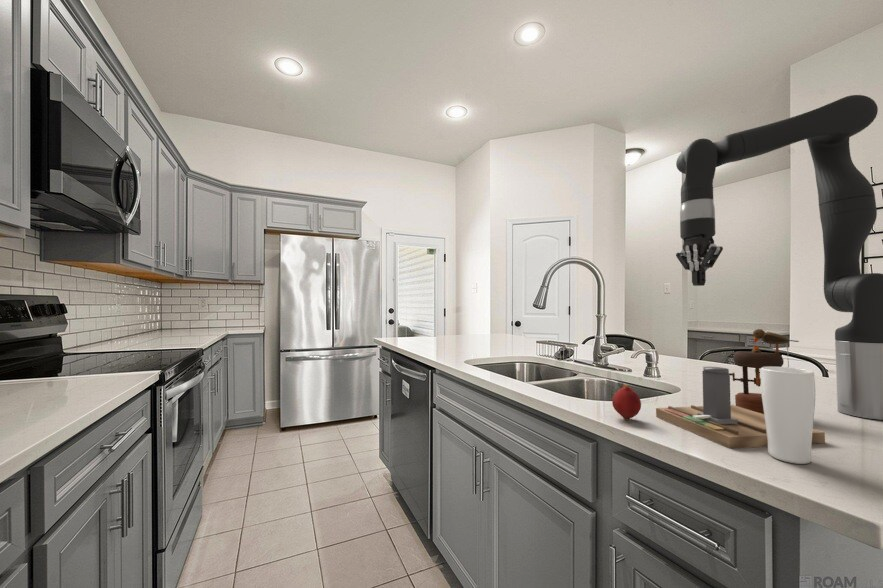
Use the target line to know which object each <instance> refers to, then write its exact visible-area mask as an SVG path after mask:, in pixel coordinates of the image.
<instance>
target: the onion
mask: <svg viewBox="0 0 883 588" xmlns="http://www.w3.org/2000/svg"><path fill="white" fill-rule="evenodd" d="M621 386H622V388H619V389H618V390H616V391H615V393H614V394H613V397H612V400H611V402H612V404H611V405H612V407H613V409H614V410H615V412H616V413H617V414H618V415H620V417H622V418H623V419H624V420H626V421H629V420H630V419H633V418H634V417H636V416H637V415H638V414H639V413H640V411H641V407H642V400H641V398H640V397H639V394H638V393H637V392H636V391H635V390H634V389H632V388H631V387H630V386H629V385H628V384H625V383H624V384H622V385H621Z"/></svg>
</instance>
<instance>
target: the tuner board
mask: <svg viewBox="0 0 883 588" xmlns="http://www.w3.org/2000/svg"><path fill="white" fill-rule="evenodd" d="M697 413H703V405H701V406H698V405H697V406H696V405H694V404H692V405H690V406H675V407H674V406H671V405H669V406H668V407H656V408H655V417H656V418H658V419H660V420H663V421H665V422H667V423H670V424H672V425H674V424H675V425H674V426H676V427H679V428H681V429H684V430H686V431H688V430H689V432H691V433H693V434H695V433H696V435H697V434H698V436H701V437H702V438H705V439H707V440H709V441H712V442H714V443H717V444H719V445H721V446H723V447H726V448H728V449H741V448H742V449H743V448H760V447H762V448H763V447H768V440H767V432H766V424H765V417H764V414H761V413H758V412H755V411H751V410H748V409H744V408H741V407H738V406H736V405H733V404H731V417H732V418H735V419H738V424H717V423H715V422H712V421H709V420H707V419H704V418H701V419H695V418H692V416H694V415H697ZM825 434H826V433H825V431H822V430H818V429H814V428H813V432H812V445H815V444H816V443H817V444H826V435H825Z"/></svg>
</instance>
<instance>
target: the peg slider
mask: <svg viewBox="0 0 883 588" xmlns="http://www.w3.org/2000/svg"><path fill="white" fill-rule="evenodd" d="M702 367H703V368H702V369H703V370H702V373H701V374H702V406H703V413H697V415H694V416H692V418H695V419H701V418H704V419H707V420H709V421H712V422H715V423H717V424H738V419H735V418H732V417H731V405H732V404H731V375H730V372H729V370H730V369H729V368H726V367H720V366H719V367H718V366H702Z"/></svg>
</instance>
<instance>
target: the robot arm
mask: <svg viewBox="0 0 883 588" xmlns="http://www.w3.org/2000/svg"><path fill="white" fill-rule="evenodd" d="M878 110H879V109H878V105H877V103H876V101H875V100H874V99H872V98H871V97H870V96H866V95H862V94H853V95H852V94H851V95H848V96H845V97H842V98H839V99H837V100H834V101H832V102H829V103H826V104H825V105H821V106H820V107H818V108H815V109H813V110H809V111H806V112H803V113H801V114H798V115H796V116H792V117H788V118H786V119H781V120H778V121H775V122H771V123H768V124H765V125H761V126H757V127H753V128H749V129H745V130H741V131H738V132H734V133H729V134H728V135H724V136H723V137H722V138H720V139H718V140H716V141H715V142H713V141H712V140H711V139H709V138H703V137H702V138H698V139H696V140H694V141H692V142H691V143H689V144H688V145H687V146H686V147H685V148H684V149H683V150H682V151H681V152H680V153H679V155H678V157H677V159H676V161H675V165H676V169H677V170H678V171H679V172H680V173H682V174H684V176H685V177H684V179H683V180H684V181H683V182H682V184H681V187H680V210H679V230H680V231H679V233H680V235H679V236H680V238H681V239H682V241H683V244H682V250H681V251H680V252H676V253H675V256H676V258H677V260H678V261H679V262H680V264H681V265H682V267H683V268H684V269H685V271H686V270H688V271H690V272H691V283H692V286H695V287H702V286H705V285H706V284H705V283H706V281H707V280H706V279H707V278H706V277H707V276H706V275H707V274H706V271H707V270H709V269H710V268H711V269H712V268H713V267H714V265H715V264H716V262H717V261H718V258H719V257H720V255H721V253H722V251H723V250H724V248H723V246H719V245H717V244H715V240H714V236H715V235H716V208H715V207H716V206H715V204H714V201H715V200H714V179H715V174H716V168H718V167H720V166H723V165H726V164H729V163H734V162H739V161H742V160H747V159H751V158H755V157H759V156H762V155H764V154H767V153H770V152H773V151H776V150H779V149H781V148H784V147H787V146H789V145H793V144H795V143H797V142H802V141H804V140H806V141H807V144H808V148H809V153H810V156H811V159H812V163H813V166H814V173H815V174H814V175H815V183H816V187H817V195H818V196H817V197H818V198H817V199H818V209H819V219H820V225H821V230H822V231H821V232H822V241H823V242H822V244H823V254H824V255H823V257H824V258H823V259H824V260H823V265H824V266H823V295H824V299H825V301H826V303H827V304H828V306H829V307H831V309H832V310H835V311H837V312H840V313H852V316H851V317H852V319H851V320H850V321H849V322H848V323H847V324H845V325H842V326H841V327H838V328H836V329H835V330H834V341H835V342H834V347H835V371H836V372H835V375H836V400H837V401H836V402H837V411H838V412H840V413H843V414H846V415H849V416H854V417H858V418H863V419H864V418H865V419H870V420H871V419H873V420H880V421H883V273H879V272H878V273H877V272H876V273H875V272H874V273H873V272H872V273H871V272H870V273H861V272H862V271H861V266H860V264H861V263H860V256H861V251H862V249H863V246H864V245H865V242H866V240H868V237H869V236H870V233H871V232H872V230H873V227H874V225H875V223H876V220H877V217H878V213H877V212H878V211H877V203H876V201H877V200H876V196H875V190H874V187H873V186H872V184H871V183H870V181H869V180H868V179H867V178H866V176H865V175H864V174H863V173H862V172H861V171H860V170H859V169H858V168H857V167H856V165H855V163H854V162H853V159H852V156H851V148H850V138H851V137H853V136H855V135H857V134H858V133H861V132H862V131H864V130H865V129H867V128H868V127H869V126H870V125H871V124H872V123H873V122H874V121H875V119H876V118H877V116H878V112H879V111H878Z"/></svg>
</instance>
